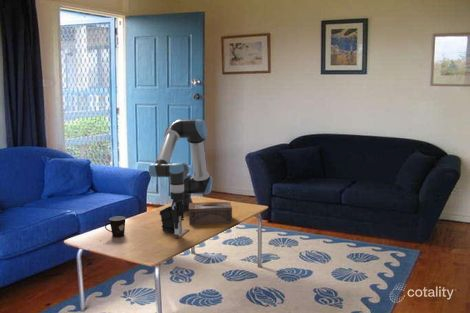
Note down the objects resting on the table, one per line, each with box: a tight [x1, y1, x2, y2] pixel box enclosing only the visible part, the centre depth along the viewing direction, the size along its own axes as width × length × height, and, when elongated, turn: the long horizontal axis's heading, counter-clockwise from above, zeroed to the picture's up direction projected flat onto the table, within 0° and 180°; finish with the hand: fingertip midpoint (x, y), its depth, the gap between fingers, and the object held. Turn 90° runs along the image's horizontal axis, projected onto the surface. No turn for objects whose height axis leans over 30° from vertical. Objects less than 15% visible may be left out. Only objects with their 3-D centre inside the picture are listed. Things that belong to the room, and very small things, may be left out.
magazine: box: [159, 205, 175, 235], centre depth 273 cm, size 4×13×15 cm, turn 40°
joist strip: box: [174, 228, 190, 240], centre depth 268 cm, size 16×2×1 cm, turn 164°
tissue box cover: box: [188, 201, 233, 226], centre depth 294 cm, size 26×14×10 cm, turn 95°
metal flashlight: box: [176, 215, 181, 236], centre depth 262 cm, size 3×3×10 cm
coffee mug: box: [104, 215, 126, 238], centre depth 266 cm, size 12×9×10 cm
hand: (178, 233), depth 263 cm, fingers closed on metal flashlight, 3 cm apart
